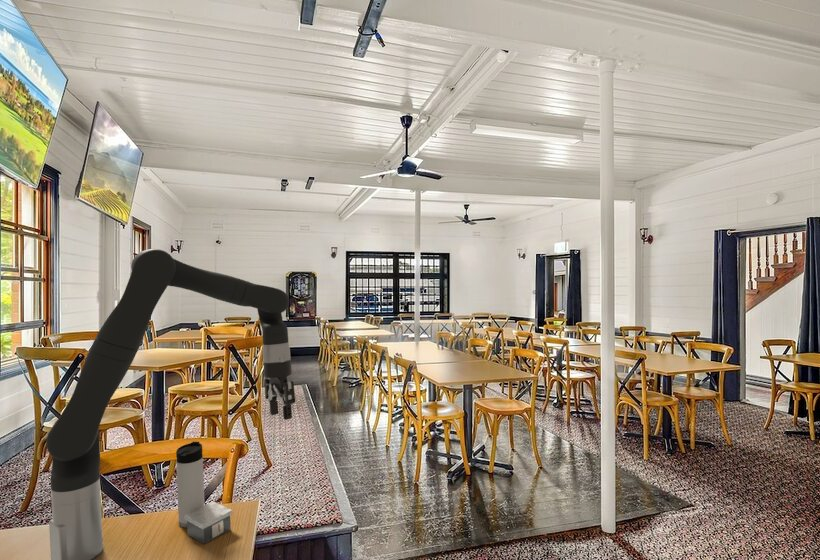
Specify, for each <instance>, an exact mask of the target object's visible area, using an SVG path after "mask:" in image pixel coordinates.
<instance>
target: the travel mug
mask: <svg viewBox="0 0 820 560" xmlns="http://www.w3.org/2000/svg"><path fill="white" fill-rule="evenodd" d="M175 455H176V460H175V461H176V465H175V466H176V484H177V485H176V486H177V489H176V490H177V509H178V510H177V511H178V512H177V513H178V525H179V526H180V527H182V528H187V521H186V520H185V519H184V516H185V515H187V514H189V513H191V512H193V511H195V510H197V509H199V508H201V507H203V506H205V505H206V504H205V485H204V484H205V480H204V479H205V478H204V456H203V444H202V443H200V441H191V442H189V443H185V444H184V445H181V446H180V447H177V449H176V451H175Z"/></svg>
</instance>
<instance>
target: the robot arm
mask: <svg viewBox="0 0 820 560" xmlns="http://www.w3.org/2000/svg"><path fill="white" fill-rule="evenodd" d="M130 267H131V273H130V276H129V279H128V281H127V284H126V286H125V289H124V292H123V294H122V296H121V298H120V299H119V301H118V303H117V305H116V306H115V307H114V309H113V310H112V312H110V313H109V315H108V316H107V318H106V320H105V321H104V323H103V324H102V326H101V327H100V329H99V331H98V333H97V334H96V336H95V338H94V340H93V342H92V344H91V346H90V348H89V351H88V353H87V355H86V358H85V360H84V363H83V365H82V368H81V370H80V373H79V377H78V379H77V382H76V385H75V388H74V389H73V393H72V394H71V397H70V400H69V401H68V403H67V404H66V406H65V408H64V410H63V411H62V413H61V414H60V416H59V417H58V419H57V420H56V421H55V422H54V423H53V425H52V427H51V428H50V430H49V431H48V434H47V436H46V440H45V441H46V442H45V444H46V449H47V452H48V454H49V455H50V456H51V461H52V462H51V473H50V497H51V517H52V518H51V519H50V520H49V521H48V525H49V526H48V527H49V528H48V529H49V547H50V548H49V549H50V560H93V559H94V558H95V557H97V556H99V555H100V554H101V553H102V551H103V549H104V543H103V542H104V539H103V519H102V497H101V496H102V495H101V475H100V472H101V471H100V469H101V468H100V467H101V451H100V449H101V446H100V445H101V444H100V443H101V442H100V438H101V437H100V425H101V422H102V419H103V417H104V414H105V411H106V409H107V407H108V405H109V402H110V401H111V399H112V397H113V396H114V394H115V392H116V391H117V390H118V388H119V387H120V384H121V383H122V381H123V380H124V378H125V376H126V374H127V373H128V371H129V369H130V367H131V366H132V364H133V361H134V359H135V357H136V355H137V353H138V351H139V349H140V346H141V344H142V341H143V339H144V336H145V334H146V332H147V329H148V326H149V324H150V320H151V317H152V315H153V312H154V310H155V308H156V306H157V305H158V303H159V301H160V299H161V297H162V296H163V294H164V293H165V291H166V289H167V288H168V286H169V287H174V288H179V289H183V290H187V291H192V292H195V293H198V294H201V295H204V296H206V297H209V298H212V299H216V300H217V301H222V302H225V303H229V304H232V305H236V306H240V307H250V308H254V309H257V314H258V319H259V322H260V325H261V330H262V331H261V333H262V361H263V362H262V363H263V376H264V395H265V396H264V397H265V399H266V400H267V402H269V414H270V415H271V416H275V415H278V414H279V401H278V400H280V401H281V405H282V417H283V419H284V420H285V421H287V420H291V419H292V418H293V414H292V413H293V411H292V405H293V404H296V394H295V385H294V381H288V376H291V375H292V360H291V359H292V358H291V348H290V343H289V332H288V331H289V328H288V326H287V325H288V324H287V323H285V322H284V320H283V315H282V314H283V313H284V312H286V310H287V309H288V307H290V306H289V305H290V297H289V296H288V294H287V293H286V292H285V291H284V290H283V289H280V288H276V287H272V286H269V285H268V286H267V285H263V284H259V283H258V284H257V283H253V282H250V281H248V280H245V279H243V278H242V279H241V278H238V277H235V276H232V275H228V274H223V273H219V272H215V271H210V270H206V269H203V268H199V267H195V266H192V265H190V264H186V263H184V262H182V261H180V260H177V259H176V258H173V256H171V254H170V253H168V252H167V251H165V250H162V249H157V248H148V249H144V250H142V251H140V252H138V253H137V254H136V255H135V256H134V257H133V258H132V262H131V266H130Z"/></svg>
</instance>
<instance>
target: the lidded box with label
mask: <svg viewBox="0 0 820 560" xmlns="http://www.w3.org/2000/svg"><path fill="white" fill-rule="evenodd" d="M231 515H233V509H231V508H228V507H227V506H225V505H222V504H221V503H218V502H216V501H212V502H210V503H207V504H205V506H203V507H201V508H199V509H197V510H195V511H193V512H191V513H189V514H187V515H185V516H184V519H185V520H186V521H187V527H186V528H187V531H186V532H187V536H188V537H190V536H191V538H192V539H194V540H196V541H197V540H198V541H197V542H199V543H201V544H203V545H206V544H207V543H210V542H211V541H212V540H215V539H216V538H218V537H220V536H222V535H224V534H225V533H227V532H229V531H231V530H232V529H231ZM223 533H224V534H223Z"/></svg>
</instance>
